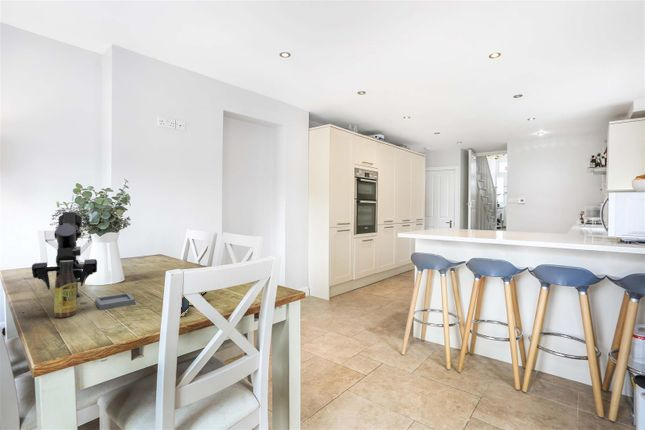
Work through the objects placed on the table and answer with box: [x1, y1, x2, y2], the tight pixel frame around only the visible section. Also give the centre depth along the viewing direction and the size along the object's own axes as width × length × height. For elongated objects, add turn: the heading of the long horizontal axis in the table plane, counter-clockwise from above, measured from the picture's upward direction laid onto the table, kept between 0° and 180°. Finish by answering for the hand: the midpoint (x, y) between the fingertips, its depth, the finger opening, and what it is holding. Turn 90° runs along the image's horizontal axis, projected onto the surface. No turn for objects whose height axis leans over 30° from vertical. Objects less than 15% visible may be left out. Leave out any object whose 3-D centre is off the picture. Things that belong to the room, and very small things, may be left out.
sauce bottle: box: [53, 260, 77, 319], centre depth 114 cm, size 6×6×20 cm
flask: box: [181, 297, 190, 314], centre depth 119 cm, size 9×3×11 cm, turn 8°
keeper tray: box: [94, 292, 136, 311], centre depth 129 cm, size 12×12×2 cm
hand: (65, 287), depth 114 cm, fingers open, 9 cm apart
